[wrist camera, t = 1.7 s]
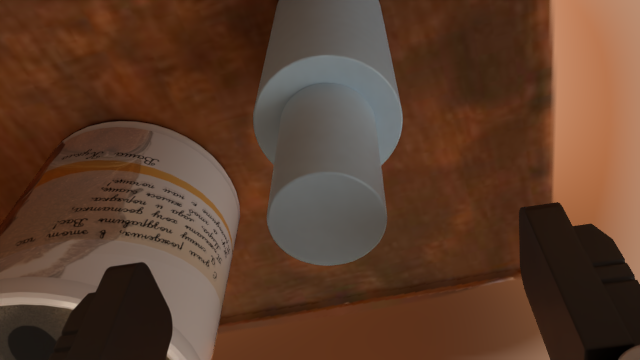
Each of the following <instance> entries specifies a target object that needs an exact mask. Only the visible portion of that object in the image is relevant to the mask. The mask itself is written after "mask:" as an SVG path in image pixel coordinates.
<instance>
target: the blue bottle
mask: <svg viewBox="0 0 640 360" xmlns="http://www.w3.org/2000/svg"><path fill="white" fill-rule="evenodd" d="M402 122H403V118H402V109H401V104H400V99H399V94H398V89H397V84H396V79H395V74H394V70H393V65H392V60H391V55H390V50H389V45H388V40H387V35H386V30H385V26H384V21H383V16H382V11H381V6H380V3H379V0H279V1H278V4H277V7H276V12H275V16H274V21H273V26H272V30H271V35H270V39H269V44H268V48H267V53H266V57H265V62H264V67H263V71H262V76H261V80H260V85H259V89H258V94H257V98H256V103H255V108H254V115H253V124H254V131H255V136H256V139H257V141H258V144H259V146H260V147H261V149H262V151H263V153H264V154H265V155H266V157H267V158H268V159H269V160H270V161H271V162H272V163H273V164H274V169H273V176H272V183H271V190H270V197H269V204H268V212H267V224H268V228H269V231H270V233H271V236H272V237H273V239H274V241H275V242H276V243H277V244H278V246H279V247H280V248H281V249H282V250H283V251H285V252H286V253H287V254H289V255H290V256H292V257H294V258H296V259H298V260H301V261H303V262H307V263H310V264H315V265H339V264H345V263H348V262H352V261H354V260H357V259H359V258H361V257H362V256H364V255H366V254H367V253H369V252H370V251H371V250H372V249H373V248H374V247H375V246H376V245H377V244H378V243H379V241H380V240H381V238H382V236H383V234H384V232H385V229H386V225H387V210H386V202H385V194H384V186H383V178H382V170H381V165H382V164H383V163H384V162H385V161H386V160H387V159H388V158H389V156H390V155H391V154H392V152H393V151H394V149H395V147H396V145H397V143H398V141H399V138H400V135H401V130H402Z"/></svg>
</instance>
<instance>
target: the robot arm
mask: <svg viewBox="0 0 640 360" xmlns="http://www.w3.org/2000/svg"><path fill="white" fill-rule="evenodd" d="M519 236H520V269H521V275H522V280H523V285H524V289H525V292H526V295H527V298H528V300H529V303H530V306H531V308H532V311H533V313H534V316H535V319H536V322H537V325H538V327H539V330H540V332H541V335H542V338H543V341H544V343H545V346H546V349H547V351H548V354H549V357H550V360H640V284H639V283H638V281H637V280H635V278H634V274H633V273H632V271H631V269H630V267H629V266H628V264H627V263H625V259H624V257H623V256H622V254H621V252H620V251H619V249H618V247H617V246H616V244H615V242H614V241H613V239H611V238H610V237H609V236H607V235H606V234H604V233H603V232H602V231H601V230H599V229H598V228H597V227H595V226H594V225H592V224H586V225H579V226H572V224H571V222H570V220H569V219H568V217H567V215H566V213H565V211H564V209H563V207H562V206H561V205H560V203H558V202H557V203H550V204H543V205H536V206H529V207H522V208H520V211H519ZM172 332H173V323H172V316H171V312H170V309H169V307H168V305H167V303H166V301H165V299H164V297H163V295H162V293H161V291H160V289H159V287H158V285H157V283H156V281H155V279H154V277H153V275H152V273H151V271H150V269H149V267H148V266H147V264H145V263H144V262H138V263H131V264H124V265H118V266H111V267H109V268H107V269H106V271H105V273H104V275H103V277H102V279H101V281H100V284H99V286H98V288H97V290H96V292H93V293H88V294H87V295H86V296H85V297H84V298H83V299H82V301H81V302H80V303H79V304H78V305H77V306H76V307H75V308H74V309H73V310H72V312H71V313H70V315H69V317H68V319H67V321H66V323H65V325H64V328H63V330H62V332H61V334H62V336H60V337H59V338H58V340H57V342H56V344H55V346H54V348H53V350H54V352H53V353H51V355H50V357H49V359H48V360H165V359H166V356H167V352H168V349H169V345H170V342H171V338H172Z"/></svg>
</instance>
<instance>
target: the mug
mask: <svg viewBox="0 0 640 360" xmlns="http://www.w3.org/2000/svg"><path fill="white" fill-rule="evenodd" d="M239 219H240V208H239V201H238V197H237V193H236V190H235V188H234V186H233V184H232V182H231V179H230V178H229V176H228V175H227V173H226V172H225V170H224V169H223V167H222V166H221V165H220V164H219V163H218V161H217V160H216V159H215V158H214V157H213V156H212V155H211V154H210V153H208V152H207V151H206V150H205V149H204V148H202V147H201V146H200V145H198V144H197V143H195V142H194V141H192V140H190V139H189V138H187V137H186V136H183V135H181V134H179V133H177V132H175V131H172V130H170V129H167V128H164V127H161V126H157V125H154V124H148V123H143V122H136V121H115V122H105V123H101V124H97V125H93V126H89V127H86V128H84V129H82V130H80V131H77V132H75V133H73V134H72V135H70V136H69V137H68V138H66V139H65V140H63V141H62V142H61V143H60V144H59V145H58V146H57V147H56V148H55V149H54V150H53V152H52V153H51V155H50V156H49V157H48V159H47V160H46V162H45V163H44V164H43V166H42V167H41V169H40V170H39V172H38V173H37V174H36V176H35V177H34V179H33V180H32V181H31V183H30V184H29V186H28V187H27V188H26V190H25V191H24V193H23V194H22V195H21V197H20V198H19V200H18V201H17V202H16V204H15V205H14V207H13V208H12V210H11V211H10V212H9V214H8V215H7V217H6V218H5V219H4V221H3V222H2V224H1V225H0V360H48V359H49V357H50V355H51V353H53V352H54V350H53V348H54V346H55V344H56V342H57V340H58V338H59V337H60V336H62V334H61V332H62V330H63V328H64V325H65V323H66V321H67V319H68V317H69V315H70V313H71V312H72V310H73V309H74V308H75V307H76V306H77V305H78V304H79V303H80V302H81V301H82V299H83V298H84V297H85V296H86V295H87V294H88V293H93V292H96V290H97V288H98V286H99V284H100V281H101V279H102V277H103V275H104V273H105V271H106V269H107V268H109V267H111V266H118V265H124V264H131V263H138V262H144V263H145V264H147V266H148V267H149V269H150V271H151V273H152V275H153V277H154V279H155V281H156V283H157V285H158V287H159V289H160V291H161V293H162V295H163V297H164V299H165V301H166V303H167V305H168V307H169V309H170V312H171V316H172V323H173V332H172V338H171V342H170V345H169V349H168V352H167V356H166V359H165V360H212V357H213V352H214V347H215V342H216V337H217V332H218V327H219V322H220V317H221V312H222V307H223V302H224V297H225V292H226V287H227V281H228V276H229V271H230V266H231V261H232V256H233V251H234V246H235V241H236V236H237V231H238V226H239Z"/></svg>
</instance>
